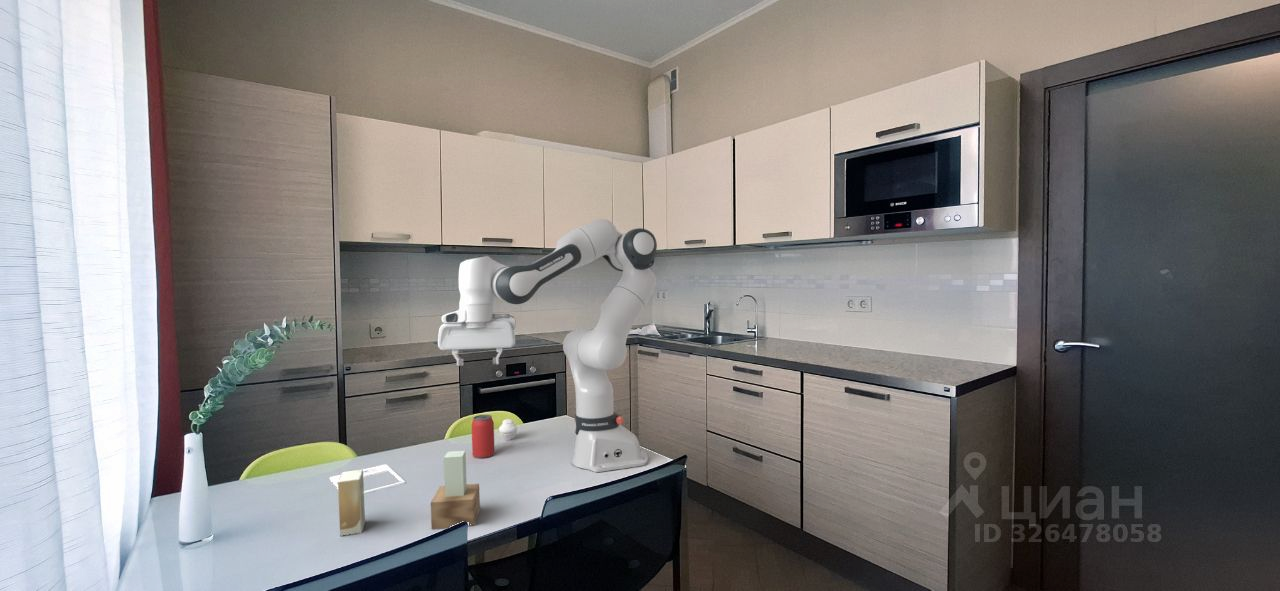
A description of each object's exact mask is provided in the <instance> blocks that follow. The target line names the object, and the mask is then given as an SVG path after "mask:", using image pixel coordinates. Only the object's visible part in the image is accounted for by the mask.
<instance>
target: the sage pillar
mask: <svg viewBox="0 0 1280 591" xmlns="http://www.w3.org/2000/svg"><path fill="white" fill-rule="evenodd" d="M466 455H467V454H466V450H453V451H452V450H451V451H447V452H446V454H445V455H444V456H443V464H444V465H443V469H444V470H443V471H444V474H443V475H444V486H445V497H452V496H464V494H465V492H466V489H467V456H466Z"/></svg>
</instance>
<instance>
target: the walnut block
mask: <svg viewBox="0 0 1280 591" xmlns="http://www.w3.org/2000/svg"><path fill="white" fill-rule="evenodd" d="M480 497H481V496H480V483H469V484H467V489H466V492H465V494H464V496H452V497H445V485H441V486H439V487H438V489H437V490H436V492H435V494H434V496H433V498H432V499H431V501H430V521H431V530H440V529H441V530H442V529H449V528H448V527H450V526H452V525H455V524H457V523H460V522H462V521H467V522H469V526H468V527H473V526H472V525H474V526H475V524H476V520H477V518H478V515H479V512H480V509H481V503H480V502H481V501H480V500H481V499H480ZM474 523H475V524H474ZM470 524H471V526H470Z"/></svg>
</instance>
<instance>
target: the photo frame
mask: <svg viewBox="0 0 1280 591" xmlns="http://www.w3.org/2000/svg"><path fill="white" fill-rule="evenodd" d="M362 470H363V478H367V477H366V476H368V477H371V476H370V475H372V476H375V474H376V475H379V474H380V475H381V474H383V473H388V472H389V473H390V474H391V475H392V476H393V475H394V476H395V477H394V478H395V479H397V481H398V482H395V483H392V484H389V485H388V484H387V485H384V486H380V487H376V488H372V489H368V490H364V495H366V494H365V493H367V494H369V493H368V492H371V493H373V492H372V491H375V492H378V491H381V489H382V490H386V489H389V487H390V488H394V487H397V485H398V486H400V484H402V485H404V483H405V484H406V481H405V480H404V479H403V478H402V477H401V476H400V475H398V473H396V472H395V471H394V470H393V469H392V468H391V467H390V466H389V465H388V464H386V463H385V464H380V465H377V466H373V467H368V468H363V469H362ZM340 475H341V474H338V475H333V476H330V477H329V480H330V482H331V483H332V482H333V483H332V485H335V486H336V487H337V488H336V487H335V486H334V487H335V488H336V489H338V484H337V483H338V480H339V478H340ZM393 486H394V487H393ZM385 488H386V489H385ZM377 490H378V491H377Z"/></svg>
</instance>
